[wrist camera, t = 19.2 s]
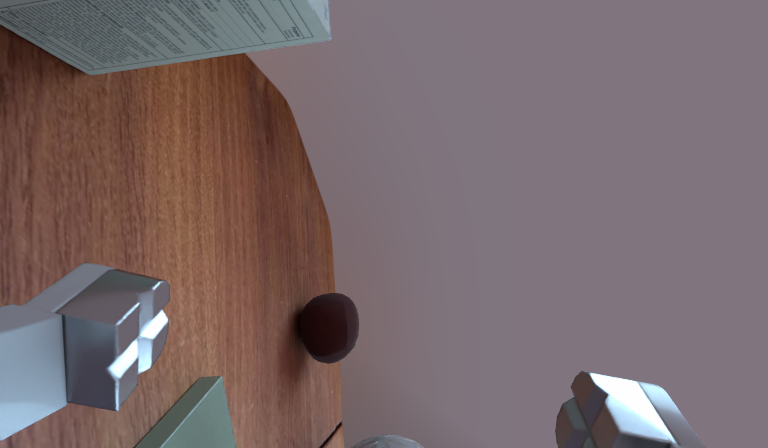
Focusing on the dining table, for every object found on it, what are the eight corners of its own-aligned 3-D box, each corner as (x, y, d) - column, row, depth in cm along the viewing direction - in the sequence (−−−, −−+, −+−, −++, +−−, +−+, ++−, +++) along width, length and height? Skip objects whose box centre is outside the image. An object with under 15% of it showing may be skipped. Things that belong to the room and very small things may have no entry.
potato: (315, 363, 54) (367, 360, 53) (290, 367, 46) (351, 364, 45) (314, 297, 55) (364, 294, 55) (289, 290, 47) (348, 286, 47)
